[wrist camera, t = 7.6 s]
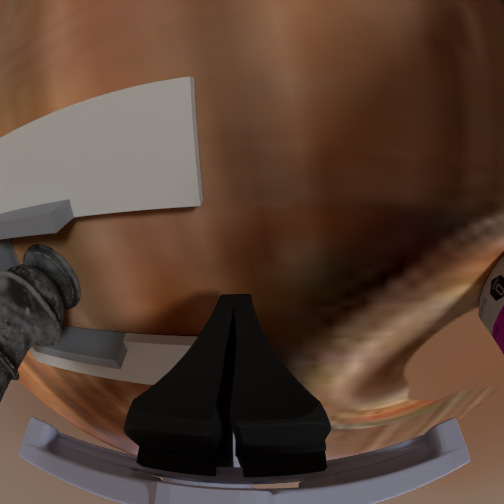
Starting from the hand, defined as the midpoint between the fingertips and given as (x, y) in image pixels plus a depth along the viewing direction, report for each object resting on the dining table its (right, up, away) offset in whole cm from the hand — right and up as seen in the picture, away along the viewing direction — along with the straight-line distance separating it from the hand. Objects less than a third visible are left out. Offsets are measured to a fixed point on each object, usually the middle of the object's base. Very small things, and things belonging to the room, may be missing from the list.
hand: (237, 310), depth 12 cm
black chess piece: (-13, +1, +2) cm, 13 cm away
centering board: (-11, +1, +2) cm, 12 cm away
